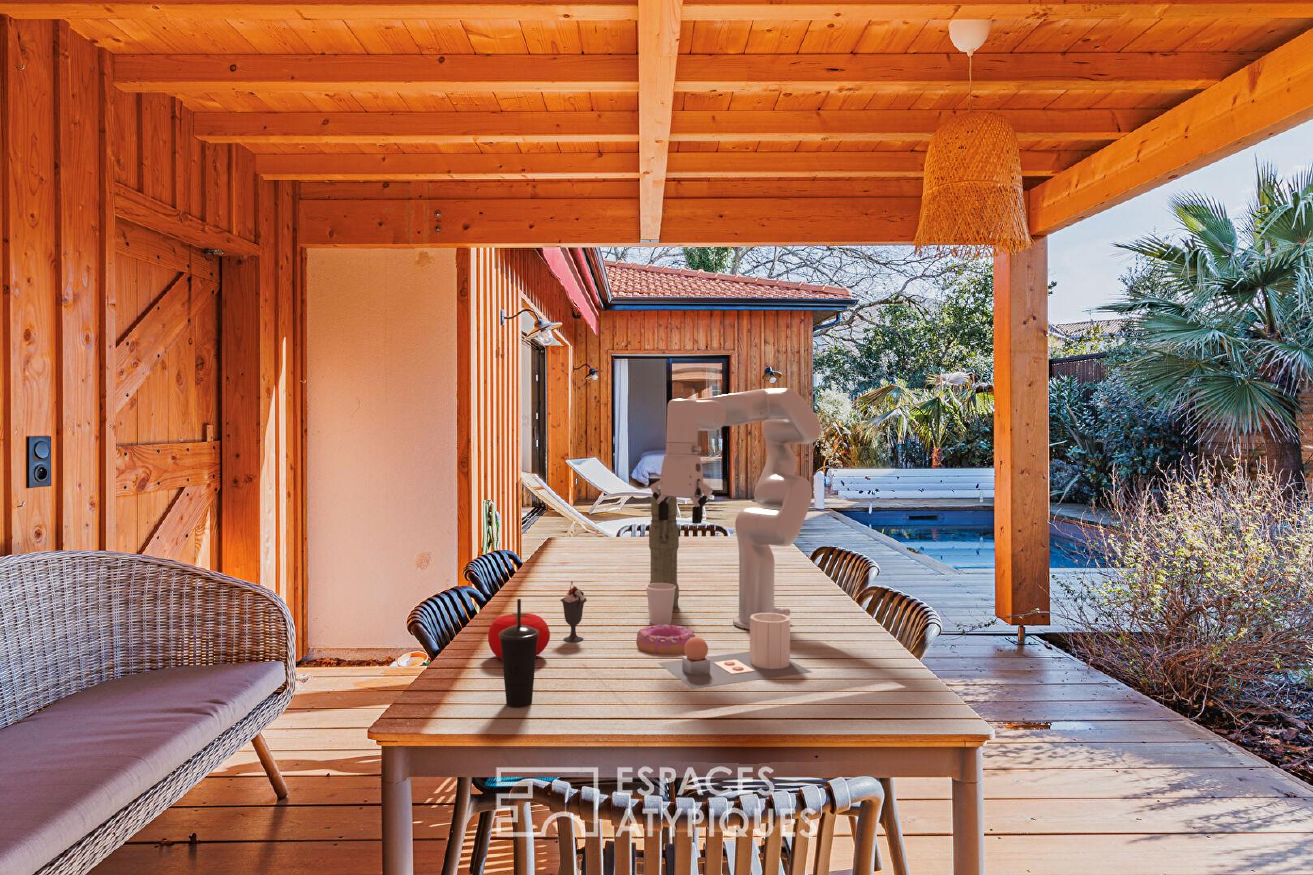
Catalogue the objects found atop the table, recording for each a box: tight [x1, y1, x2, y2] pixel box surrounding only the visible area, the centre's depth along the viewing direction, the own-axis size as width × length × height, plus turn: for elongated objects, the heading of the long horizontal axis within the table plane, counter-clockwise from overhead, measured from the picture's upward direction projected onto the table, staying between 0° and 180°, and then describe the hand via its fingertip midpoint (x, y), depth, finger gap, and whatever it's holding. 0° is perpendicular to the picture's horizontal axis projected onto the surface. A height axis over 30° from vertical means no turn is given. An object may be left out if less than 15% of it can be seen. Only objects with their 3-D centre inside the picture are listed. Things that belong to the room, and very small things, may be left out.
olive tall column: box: [648, 487, 680, 610], centre depth 227 cm, size 9×12×35 cm
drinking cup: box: [499, 598, 539, 709], centre depth 147 cm, size 8×8×20 cm
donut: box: [635, 624, 696, 655], centre depth 182 cm, size 14×14×5 cm
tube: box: [749, 613, 791, 669], centre depth 169 cm, size 9×9×10 cm
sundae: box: [559, 581, 587, 643], centre depth 191 cm, size 7×7×15 cm
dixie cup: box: [645, 583, 676, 625], centre depth 209 cm, size 8×8×10 cm
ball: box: [684, 636, 709, 661], centre depth 162 cm, size 5×5×5 cm
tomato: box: [487, 612, 551, 660], centre depth 176 cm, size 14×13×10 cm
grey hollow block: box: [681, 655, 710, 676], centre depth 162 cm, size 4×4×3 cm
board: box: [658, 651, 812, 690], centre depth 165 cm, size 28×18×2 cm, turn 112°
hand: (679, 521), depth 184 cm, fingers open, 9 cm apart
